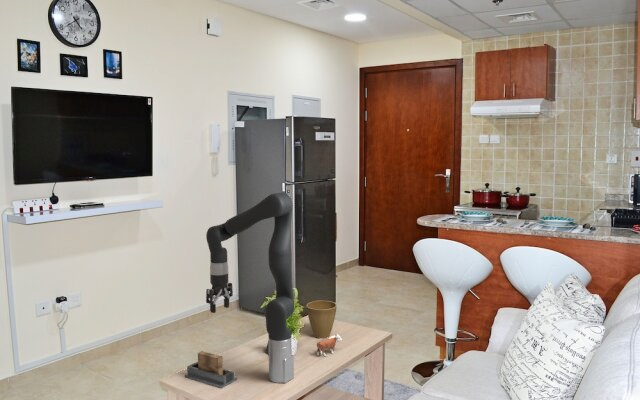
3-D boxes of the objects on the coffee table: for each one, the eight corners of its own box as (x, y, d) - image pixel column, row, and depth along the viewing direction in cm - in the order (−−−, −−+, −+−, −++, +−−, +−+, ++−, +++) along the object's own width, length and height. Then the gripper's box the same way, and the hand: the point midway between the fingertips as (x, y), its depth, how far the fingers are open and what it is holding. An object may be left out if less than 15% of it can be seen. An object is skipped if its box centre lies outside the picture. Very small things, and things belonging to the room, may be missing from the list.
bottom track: (236, 380, 224) (236, 370, 223) (221, 388, 216) (221, 378, 216) (200, 369, 234) (200, 360, 234) (184, 377, 227) (184, 367, 226)
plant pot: (304, 332, 280) (304, 301, 279) (333, 330, 283) (333, 299, 281) (309, 342, 266) (309, 309, 264) (339, 340, 268) (339, 308, 267)
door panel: (222, 377, 223) (222, 356, 222) (218, 380, 221) (218, 358, 220) (202, 372, 229) (202, 351, 228) (198, 374, 227) (197, 353, 226)
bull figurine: (343, 352, 253) (343, 334, 252) (319, 358, 246) (319, 340, 245) (337, 349, 257) (337, 332, 256) (313, 355, 249) (313, 338, 248)
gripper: (214, 276, 225) (215, 315, 227) (237, 270, 237) (237, 307, 239) (200, 274, 229) (201, 313, 231) (223, 268, 241) (224, 304, 243)
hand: (220, 309), depth 235 cm, fingers open, 8 cm apart
